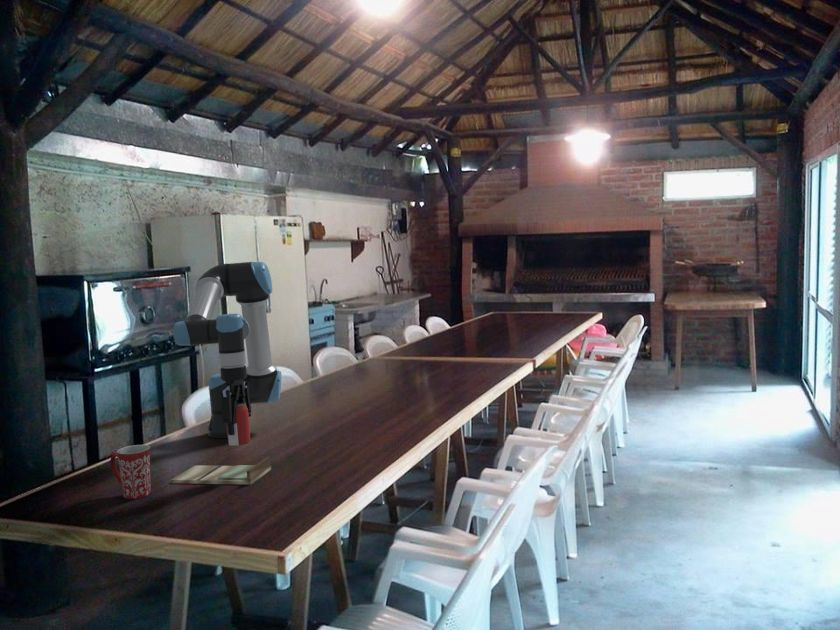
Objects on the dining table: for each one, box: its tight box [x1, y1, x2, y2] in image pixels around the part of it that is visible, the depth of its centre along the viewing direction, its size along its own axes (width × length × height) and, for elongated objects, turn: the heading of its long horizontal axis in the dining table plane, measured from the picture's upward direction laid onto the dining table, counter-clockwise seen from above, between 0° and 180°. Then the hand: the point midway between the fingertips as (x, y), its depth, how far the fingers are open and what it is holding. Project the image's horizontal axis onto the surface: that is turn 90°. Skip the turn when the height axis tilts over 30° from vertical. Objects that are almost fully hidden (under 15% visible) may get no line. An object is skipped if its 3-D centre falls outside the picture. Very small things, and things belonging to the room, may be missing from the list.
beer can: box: [227, 402, 251, 447], centre depth 219 cm, size 7×7×12 cm
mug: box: [109, 444, 152, 500], centre depth 209 cm, size 13×9×14 cm
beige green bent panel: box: [170, 456, 272, 486], centre depth 222 cm, size 26×14×4 cm, turn 77°
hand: (239, 441), depth 219 cm, fingers closed on beer can, 7 cm apart
